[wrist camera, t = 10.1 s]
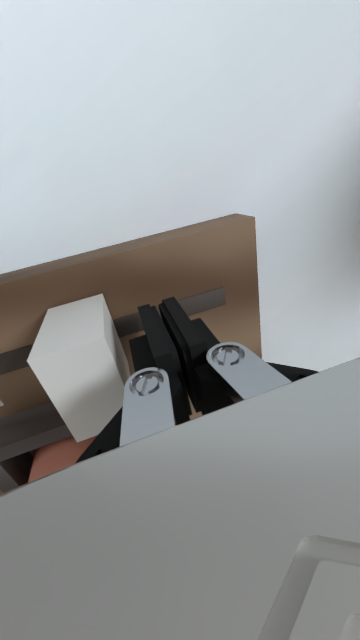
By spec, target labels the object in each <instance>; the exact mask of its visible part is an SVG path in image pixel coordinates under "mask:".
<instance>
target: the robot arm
mask: <svg viewBox="0 0 360 640" xmlns="http://www.w3.org/2000/svg"><path fill="white" fill-rule="evenodd" d="M158 306H159V310H160V314H161V317H160V315H159V313H158V311H157V309H156V307H155V305H154V306H151V307H150V304H146V305H143V306H139V307H137V308H138V311H139V315H140V318H141V321H142V325H143V328H144V331H145V335H142V336H139V337H136V338H133V339H129V345H130V350H131V355H132V360H133V365H134V370H135V373H134V374H133V375H132V376H130V377H129V379H128V380H127V382H126V384H125V387H124V398H123V406H122V407H121V408H120V410H119V411H118V412H117V413H116V414H115V416H114V417H113V418H112V419H111V420H110V421H109V423H108V424H107V425H106V426H105V427H104V429H103V430H102V431H101V432H100V433H99V435H98V436H97V437H96V438H95V439H94V440H93V442H92V443H91V444H90V445H89V446H88V448H87V449H86V450H85V451H84V452H83V453H82V455H81V456H80V457H79V458H78V460H77V461H76V463H75V464H73V465H71V466H68V467H65V468H63V469H60V470H58V471H55V472H53V473H51V474H48V475H46V476H43V477H41V478H39V479H36V480H34V481H31V482H29V483H26V484H24V485H22V486H19V487H17V488H14V489H12V490H10V491H8V492H6V493H4V494H2V495H0V640H360V357H359V358H357V359H354V360H351V361H348V362H346V363H343V364H340V365H338V366H335V367H332V368H329V369H327V370H324V371H321V372H317V371H314V370H308V369H303V368H297V367H291V366H286V365H280V364H274V363H268V362H265V361H264V360H262V359H261V358H260V357H259V356H257V355H256V354H255V353H253V352H252V351H251V350H249V349H248V348H247V347H245V346H244V345H242V344H239V343H235V342H224V343H220V342H219V341H218V339H217V338H216V337H215V336H214V334H213V333H212V332H211V331H210V329H209V328H208V327H207V326H206V324H205V323H204V322H203V321H202V319H201V318H197V319H194V320H190V318H189V317H188V316H187V314H186V313H185V311H184V310H183V309H182V307H181V306H180V304H179V303H178V302H177V300H176V299H175V297H174V296H173V297H170V298H167V299H163V300H162V303H161V304H158ZM161 318H162V319H161ZM188 396H189V398H190V400H191V402H192V405H193V407H194V409H195V411H196V413H198V412H201V413H202V415H203V416H200V417H197V418H195V419H192V420H190V417H189V416H190V415H192V410H191V406H190V402H189V398H188Z"/></svg>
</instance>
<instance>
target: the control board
mask: <svg viewBox="0 0 360 640" xmlns="http://www.w3.org/2000/svg"><path fill="white" fill-rule="evenodd" d="M99 294H103V296H104V299H105V302H106V305H107V307H108V310H109V313H110V315H111V318H112V321H113V323H114V326H115V329H116V331H117V334H118V337H119V339H120V342H121V345H122V347H123V350H124V353H125V355H126V358H127V361H128V365H129V371H130V376H132V375H133V374H134V373H135V370H134V365H133V360H132V355H131V350H130V345H129V339H133V338H136V337H139V336H142V335H145V331H144V328H143V325H142V321H141V318H140V315H139V311H138V308H137V307H139V306H143V305H146V304H150V307H151V306H154V305H155V307H156V309H157V311H158V313H159V315H160V317H161V314H160V310H159V306H158V304H161V303H162V300H163V299H167V298H170V297H173V296H174V297H175V299H176V300H177V302H178V303H179V304H180V306H181V307H182V309H183V310H184V311H185V313H186V314H187V316H188V317H189V318H190V320H194V319H197V318H201V319H202V321H203V322H204V323H205V324H206V326H207V327H208V328H209V329H210V331H211V332H212V333H213V334H214V336H215V337H216V338H217V339H218V341H219V342H220V343H224V342H235V343H239V344H242V345H244V346H245V347H247V348H248V349H249V350H251V351H252V352H253V353H255V354H256V355H257V356H259V357H260V358H261V359H262V354H261V334H260V313H259V293H258V272H257V252H256V231H255V217H252V216H246V215H241V214H232V215H228V216H224V217H220V218H217V219H213V220H209V221H205V222H201V223H197V224H193V225H190V226H186V227H182V228H178V229H174V230H170V231H166V232H163V233H159V234H155V235H151V236H147V237H143V238H139V239H136V240H132V241H128V242H124V243H120V244H116V245H112V246H109V247H105V248H101V249H97V250H93V251H89V252H85V253H81V254H78V255H74V256H70V257H66V258H62V259H58V260H54V261H51V262H47V263H43V264H39V265H35V266H31V267H27V268H24V269H20V270H16V271H12V272H8V273H4V274H0V495H2V494H4V493H6V492H8V491H10V490H12V489H14V488H17V487H19V486H22V485H24V484H26V483H28V480H29V476H30V472H31V468H32V463H33V459H34V455H35V451H36V449H37V448H40V447H42V446H45V445H48V444H51V443H53V442H56V441H59V440H62V439H65V438H67V437H70V436H73V435H72V433H71V432H70V430H69V429H68V427H67V425H66V424H65V422H64V420H63V419H62V417H61V416H60V414H59V412H58V411H57V409H56V407H55V406H54V404H53V403H52V401H51V399H50V398H49V396H48V394H47V393H46V391H45V390H44V388H43V386H42V385H41V383H40V382H39V380H38V378H37V377H36V375H35V373H34V372H33V370H32V369H31V367H30V365H29V364H28V362H27V359H28V357H29V354H30V352H31V350H32V347H33V345H34V342H35V340H36V337H37V335H38V333H39V330H40V328H41V325H42V323H43V320H44V318H45V316H46V313H47V311H48V309H50V308H54V307H57V306H61V305H64V304H68V303H71V302H75V301H78V300H82V299H85V298H89V297H92V296H96V295H99ZM161 319H162V318H161ZM188 398H189V396H188ZM189 402H190V406H191V410H192V415H190V416H189V417H190V420H192V419H195V418H197V417H200V416H203V415H202V413H201V412H198V413H196V411H195V409H194V407H193V405H192V402H191V400H190V398H189Z"/></svg>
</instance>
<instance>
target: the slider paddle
mask: <svg viewBox="0 0 360 640" xmlns="http://www.w3.org/2000/svg"><path fill="white" fill-rule="evenodd" d="M27 362H28V364H29V365H30V367H31V369H32V370H33V372H34V373H35V375H36V377H37V378H38V380H39V382H40V383H41V385H42V386H43V388H44V390H45V391H46V393H47V394H48V396H49V398H50V399H51V401H52V403H53V404H54V406H55V407H56V409H57V411H58V412H59V414H60V416H61V417H62V419H63V420H64V422H65V424H66V425H67V427H68V429H69V430H70V432H71V433H72V435H73V437H74V438H75V440H76V442H80V441H83V440H85V439H88V438H91V437H94V436H96V435H99V433H100V432H101V431H102V430H103V429H104V427H105V426H106V425H107V424H108V423H109V421H110V420H111V419H112V418H113V417H114V416H115V414H116V413H117V412H118V411H119V410H120V408H121V407H122V406H123V398H124V387H125V384H126V382H127V380H128V379H129V377H130V371H129V365H128V361H127V358H126V355H125V353H124V350H123V347H122V345H121V342H120V339H119V337H118V334H117V331H116V329H115V326H114V323H113V321H112V318H111V315H110V313H109V310H108V307H107V305H106V302H105V299H104V296H103V294H99V295H96V296H92V297H89V298H85V299H82V300H78V301H75V302H71V303H68V304H64V305H61V306H57V307H54V308H50V309H48V311H47V313H46V316H45V318H44V320H43V323H42V325H41V328H40V330H39V333H38V335H37V337H36V340H35V342H34V345H33V347H32V350H31V352H30V354H29V357H28V359H27Z"/></svg>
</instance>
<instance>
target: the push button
mask: <svg viewBox="0 0 360 640" xmlns="http://www.w3.org/2000/svg"><path fill="white" fill-rule="evenodd" d="M97 436H98V435H96V436H94V437H91V438H88V439H85V440H83V441H80V442H76V440H75V438H74V437H73V436H70V437H67V438H65V439H62V440H59V441H56V442H53V443H51V444H48V445H45V446H42V447H40V448H37V449H36V451H35V455H34V459H33V463H32V468H31V472H30V476H29V480H28V483H29V482H31V481H34V480H36V479H39V478H41V477H43V476H46V475H48V474H51V473H53V472H55V471H58V470H60V469H63V468H65V467H68V466H71V465H73V464H75V463H76V461H77V460H78V458H79V457H80V456H81V455H82V453H83V452H84V451H85V450H86V449H87V448H88V446H89V445H90V444H91V443H92V442H93V440H94V439H95V438H96V437H97Z"/></svg>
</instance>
